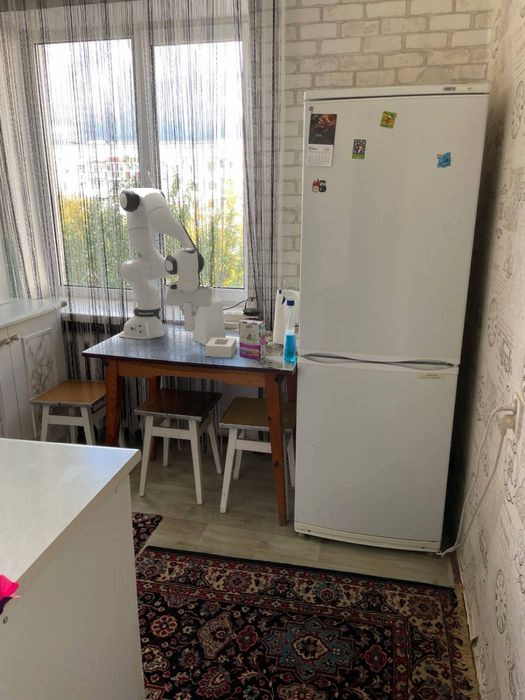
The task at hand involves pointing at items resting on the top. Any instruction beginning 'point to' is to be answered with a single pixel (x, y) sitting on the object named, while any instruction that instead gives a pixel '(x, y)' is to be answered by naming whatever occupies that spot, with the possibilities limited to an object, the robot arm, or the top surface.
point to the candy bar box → (252, 339)
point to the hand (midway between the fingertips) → (189, 315)
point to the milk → (209, 321)
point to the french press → (252, 311)
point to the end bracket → (189, 317)
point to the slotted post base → (221, 347)
